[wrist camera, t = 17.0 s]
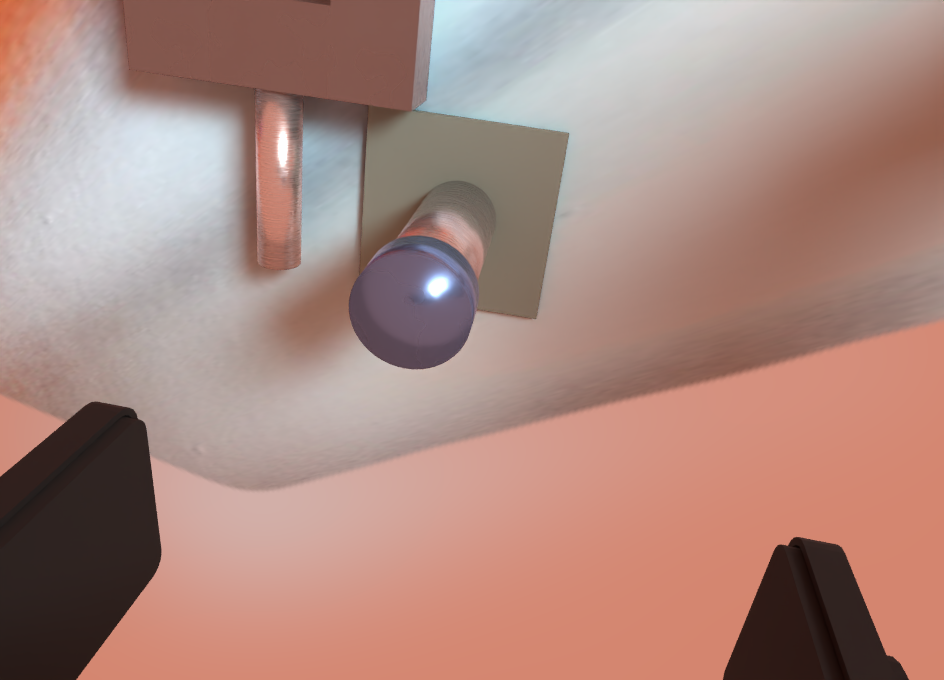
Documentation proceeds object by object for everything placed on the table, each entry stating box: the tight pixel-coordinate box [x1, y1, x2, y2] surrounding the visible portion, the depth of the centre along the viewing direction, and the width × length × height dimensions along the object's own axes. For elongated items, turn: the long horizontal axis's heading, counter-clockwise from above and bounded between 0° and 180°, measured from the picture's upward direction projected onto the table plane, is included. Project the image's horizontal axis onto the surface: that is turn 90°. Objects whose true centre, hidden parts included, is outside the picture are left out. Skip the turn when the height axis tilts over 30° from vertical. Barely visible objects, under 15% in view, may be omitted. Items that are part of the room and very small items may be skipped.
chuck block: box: [123, 0, 435, 270], centre depth 30 cm, size 20×12×3 cm, turn 173°
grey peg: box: [349, 181, 496, 369], centre depth 29 cm, size 4×4×11 cm
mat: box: [359, 105, 569, 319], centre depth 34 cm, size 9×9×1 cm
